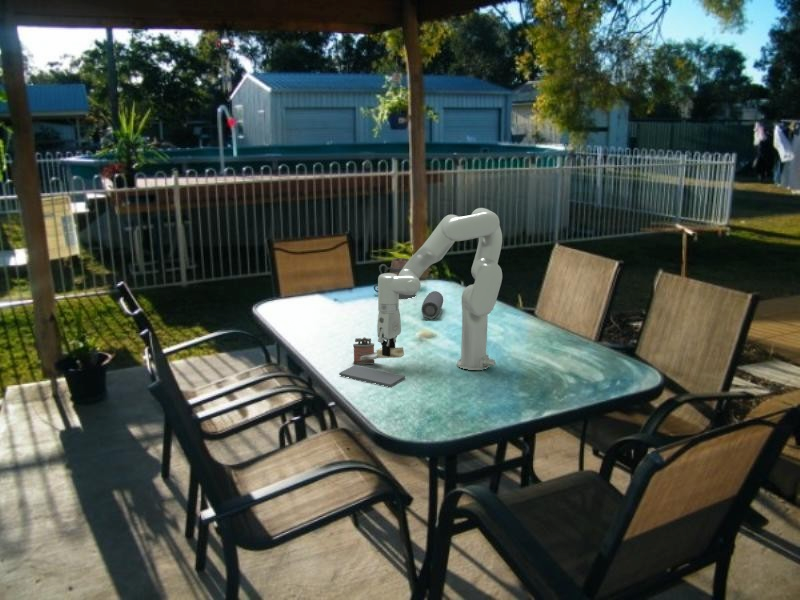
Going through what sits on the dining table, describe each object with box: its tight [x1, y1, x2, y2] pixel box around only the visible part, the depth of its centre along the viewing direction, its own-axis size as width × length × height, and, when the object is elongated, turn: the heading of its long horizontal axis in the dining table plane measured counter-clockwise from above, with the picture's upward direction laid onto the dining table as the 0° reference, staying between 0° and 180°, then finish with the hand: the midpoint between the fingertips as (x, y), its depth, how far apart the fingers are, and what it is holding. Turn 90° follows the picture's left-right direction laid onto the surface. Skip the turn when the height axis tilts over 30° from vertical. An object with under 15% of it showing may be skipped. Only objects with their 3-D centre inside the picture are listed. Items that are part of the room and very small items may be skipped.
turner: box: [360, 346, 405, 360], centre depth 252 cm, size 17×6×3 cm, turn 59°
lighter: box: [352, 337, 375, 365], centre depth 257 cm, size 8×3×10 cm, turn 98°
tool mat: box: [338, 364, 406, 388], centre depth 243 cm, size 22×10×1 cm, turn 59°
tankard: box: [373, 257, 417, 300], centre depth 363 cm, size 24×17×20 cm
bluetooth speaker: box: [421, 290, 444, 319], centre depth 326 cm, size 23×9×10 cm, turn 171°
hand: (388, 354), depth 251 cm, fingers closed on turner, 3 cm apart
